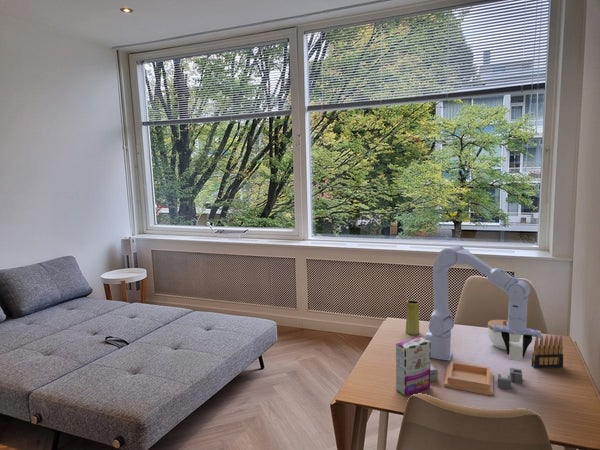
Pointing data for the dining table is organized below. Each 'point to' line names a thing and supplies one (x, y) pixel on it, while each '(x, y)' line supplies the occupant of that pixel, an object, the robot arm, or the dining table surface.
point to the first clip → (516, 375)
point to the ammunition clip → (548, 353)
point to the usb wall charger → (433, 373)
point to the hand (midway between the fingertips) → (515, 354)
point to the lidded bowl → (497, 336)
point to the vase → (412, 317)
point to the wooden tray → (469, 378)
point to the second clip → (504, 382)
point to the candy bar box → (413, 365)
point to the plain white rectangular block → (515, 351)
